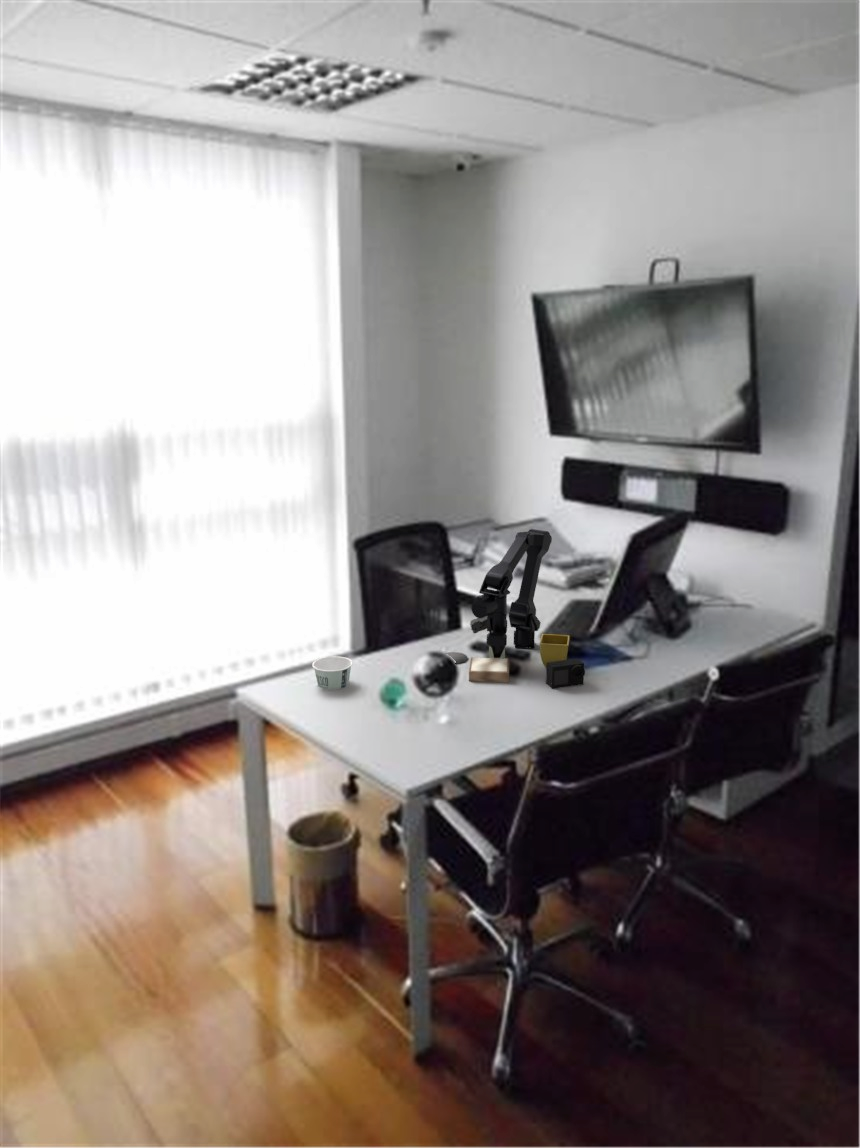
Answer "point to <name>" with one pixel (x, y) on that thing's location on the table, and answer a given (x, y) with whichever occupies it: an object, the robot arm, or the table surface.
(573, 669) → the digital camera
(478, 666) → the plinth
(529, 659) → the table surface
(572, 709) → the table surface
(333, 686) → the food container
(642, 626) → the table surface
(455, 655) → the coaster
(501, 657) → the block
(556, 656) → the flower pot
